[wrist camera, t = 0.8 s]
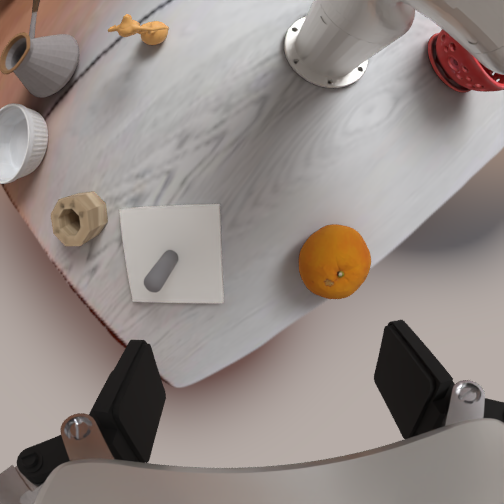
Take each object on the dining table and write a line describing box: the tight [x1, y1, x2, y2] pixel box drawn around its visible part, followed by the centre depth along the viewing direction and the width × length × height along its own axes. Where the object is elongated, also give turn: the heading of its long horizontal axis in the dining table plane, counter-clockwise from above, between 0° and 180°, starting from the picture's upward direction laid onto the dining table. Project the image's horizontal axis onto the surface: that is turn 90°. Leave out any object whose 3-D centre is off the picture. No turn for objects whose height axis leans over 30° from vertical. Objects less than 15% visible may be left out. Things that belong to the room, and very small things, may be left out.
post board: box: [119, 204, 224, 303], centre depth 38 cm, size 15×15×10 cm
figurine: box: [108, 14, 169, 45], centre depth 27 cm, size 8×6×12 cm
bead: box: [51, 192, 108, 246], centre depth 38 cm, size 7×7×6 cm
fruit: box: [299, 225, 371, 299], centre depth 40 cm, size 10×10×8 cm
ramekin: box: [0, 104, 48, 184], centre depth 33 cm, size 13×13×7 cm
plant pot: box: [428, 29, 504, 92], centre depth 27 cm, size 13×13×12 cm
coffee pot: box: [0, 0, 79, 98], centre depth 23 cm, size 21×12×15 cm, turn 168°
